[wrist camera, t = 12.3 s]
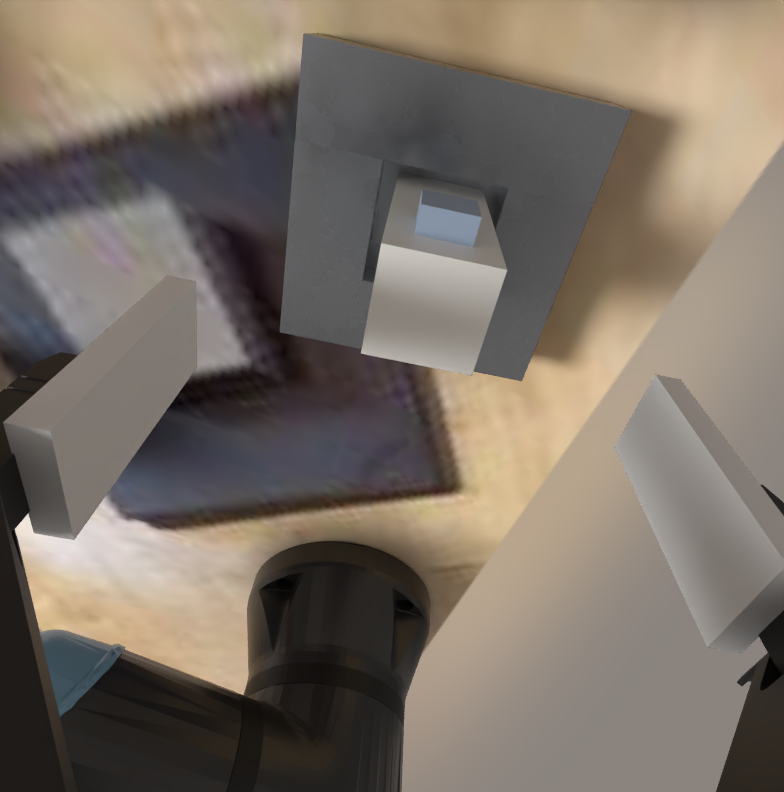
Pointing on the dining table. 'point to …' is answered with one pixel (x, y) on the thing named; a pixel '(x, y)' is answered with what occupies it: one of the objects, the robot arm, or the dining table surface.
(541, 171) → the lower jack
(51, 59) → the dining table surface
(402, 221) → the plug
